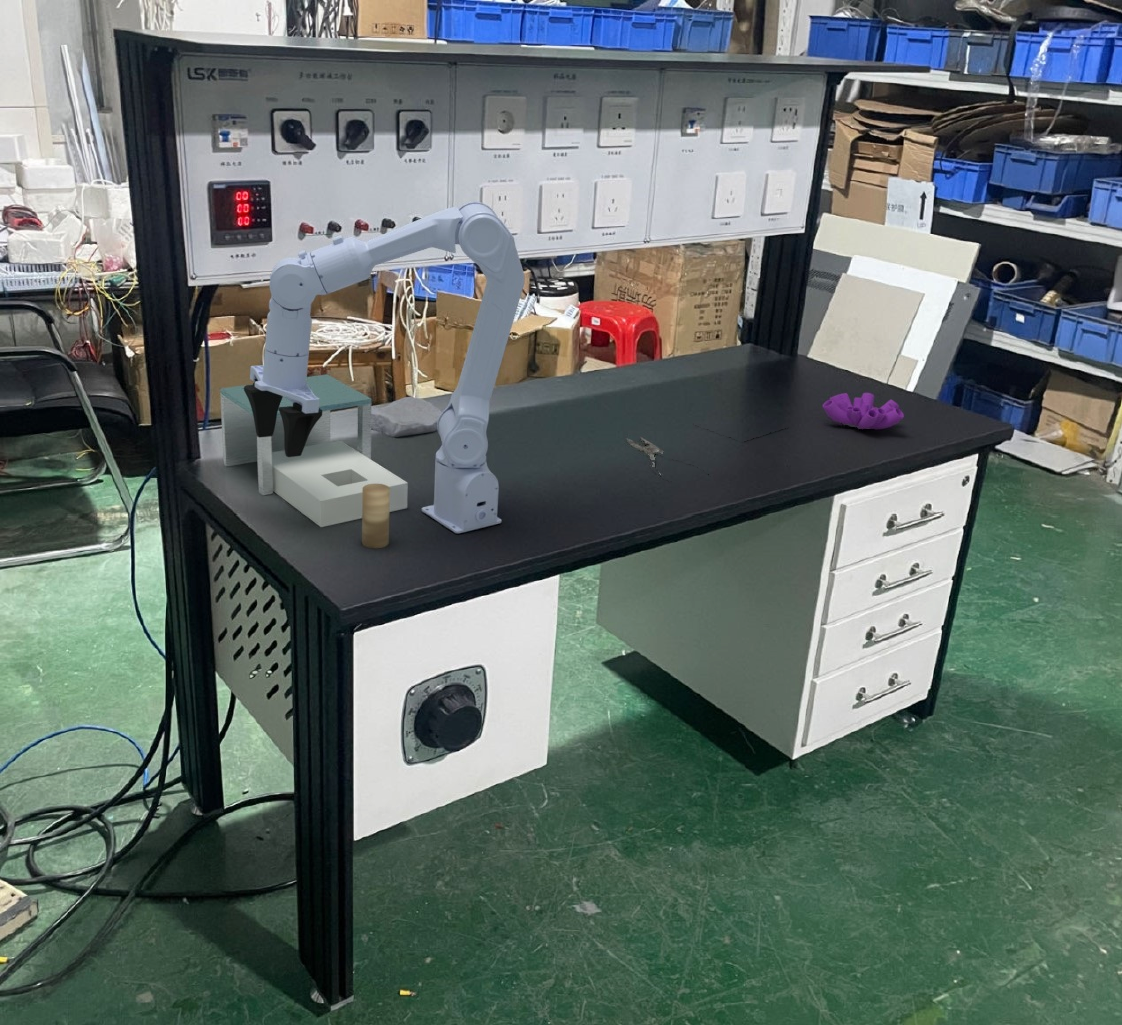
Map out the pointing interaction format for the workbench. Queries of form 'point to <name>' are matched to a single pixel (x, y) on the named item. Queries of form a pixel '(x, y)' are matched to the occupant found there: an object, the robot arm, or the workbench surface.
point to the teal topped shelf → (247, 445)
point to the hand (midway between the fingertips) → (278, 445)
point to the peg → (375, 515)
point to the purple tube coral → (862, 411)
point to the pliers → (646, 448)
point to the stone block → (405, 417)
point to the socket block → (332, 482)
